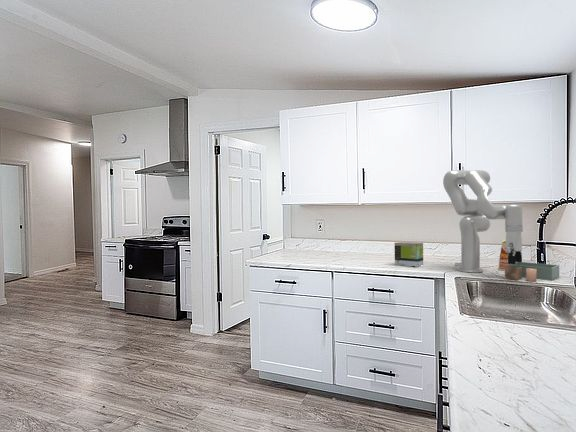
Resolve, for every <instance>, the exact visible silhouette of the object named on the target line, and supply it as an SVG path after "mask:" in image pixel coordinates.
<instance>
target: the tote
mask: <svg viewBox="0 0 576 432" xmlns="http://www.w3.org/2000/svg"><path fill="white" fill-rule="evenodd" d="M509 266H513V267H522V278H526V268H533V269H537V280H542V281H543V280H545V281H553V280H556V279H558V278H560V265H559V264H550V263H549V264H548V263H537V262H525V261H522V262H515V264H509Z"/></svg>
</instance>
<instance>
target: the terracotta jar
mask: <svg viewBox="0 0 576 432" xmlns="http://www.w3.org/2000/svg"><path fill="white" fill-rule="evenodd" d="M537 280H538V279H537V269H533V268H526V277H525V281H526V282H529V283H536V282H537Z"/></svg>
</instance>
